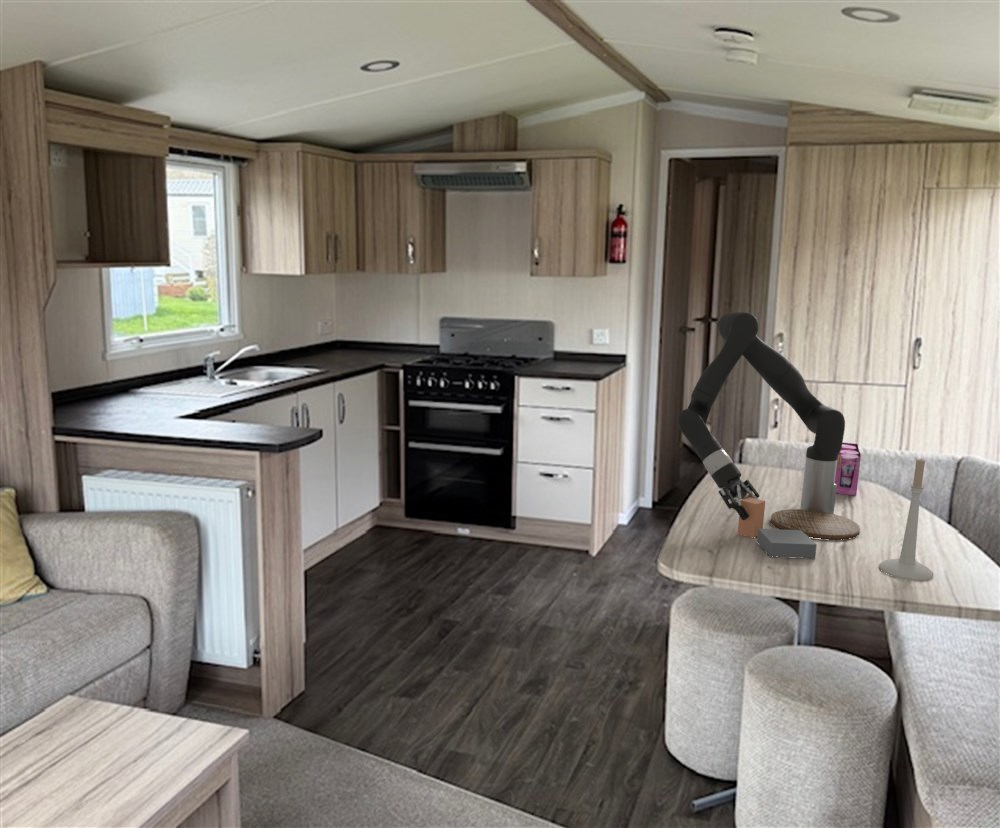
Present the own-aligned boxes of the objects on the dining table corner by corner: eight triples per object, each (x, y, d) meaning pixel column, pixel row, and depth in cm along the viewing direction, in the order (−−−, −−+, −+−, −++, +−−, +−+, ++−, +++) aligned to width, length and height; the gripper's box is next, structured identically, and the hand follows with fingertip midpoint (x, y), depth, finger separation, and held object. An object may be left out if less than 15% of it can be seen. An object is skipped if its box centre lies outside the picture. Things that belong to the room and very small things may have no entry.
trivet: (866, 545, 254) (867, 539, 253) (774, 536, 258) (774, 529, 258) (851, 520, 278) (851, 514, 277) (766, 511, 283) (767, 505, 282)
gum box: (857, 497, 304) (862, 457, 301) (832, 494, 306) (836, 454, 304) (854, 480, 326) (858, 443, 323) (830, 477, 328) (835, 441, 326)
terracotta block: (746, 530, 261) (749, 497, 259) (762, 534, 258) (765, 501, 256) (737, 534, 258) (740, 500, 256) (753, 538, 254) (756, 504, 252)
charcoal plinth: (799, 544, 251) (801, 530, 250) (815, 558, 239) (816, 544, 239) (756, 542, 251) (758, 528, 250) (769, 557, 239) (771, 542, 238)
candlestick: (887, 559, 242) (901, 449, 236) (939, 571, 234) (955, 458, 228) (872, 571, 232) (886, 457, 226) (925, 584, 224) (941, 467, 218)
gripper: (717, 464, 254) (751, 513, 249) (743, 457, 265) (775, 504, 259) (699, 479, 259) (732, 527, 253) (725, 471, 269) (756, 518, 264)
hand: (753, 515), depth 256 cm, fingers open, 8 cm apart
